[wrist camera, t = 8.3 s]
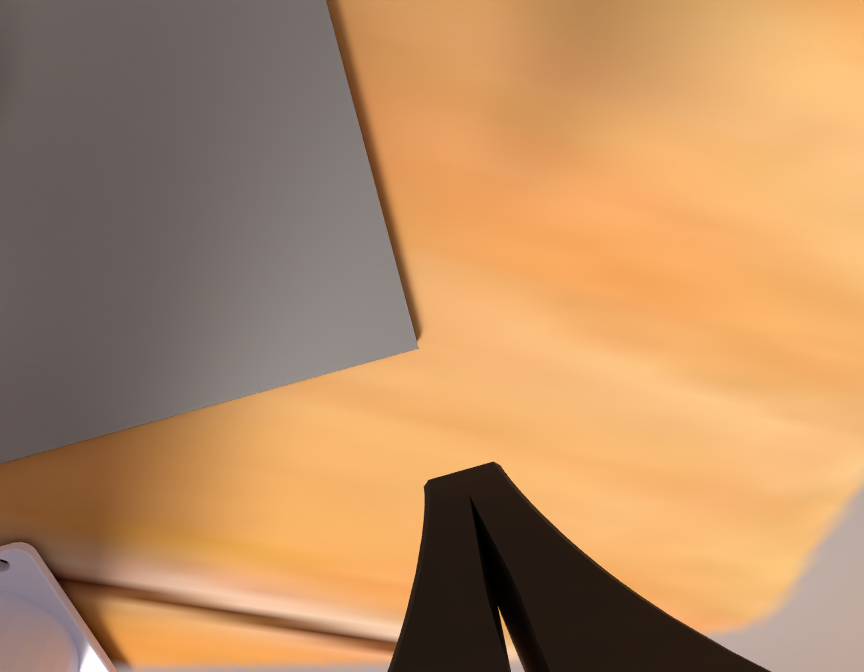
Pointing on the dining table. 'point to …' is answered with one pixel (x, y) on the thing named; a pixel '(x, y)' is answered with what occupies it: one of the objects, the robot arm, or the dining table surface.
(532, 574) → the robot arm
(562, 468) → the dining table surface
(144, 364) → the card
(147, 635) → the dining table surface
